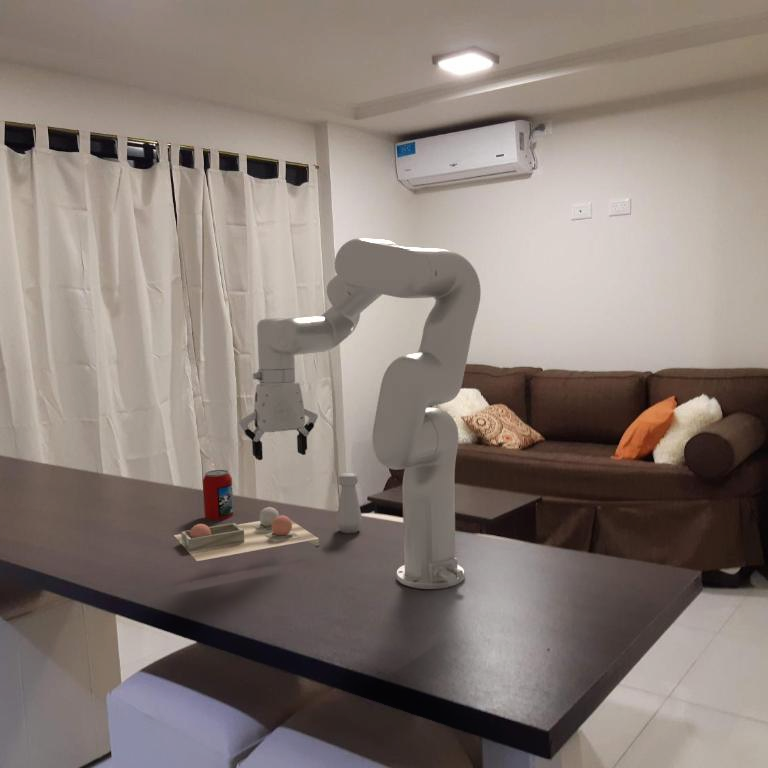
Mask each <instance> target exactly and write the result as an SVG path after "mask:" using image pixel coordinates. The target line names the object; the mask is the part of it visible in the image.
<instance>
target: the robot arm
mask: <svg viewBox="0 0 768 768" xmlns="http://www.w3.org/2000/svg"><path fill="white" fill-rule="evenodd" d="M334 269H335V273H336V275H335V276H334V277H333V278H331V280H329V282H328V283H327V285H326V295H327V298H328V301H329V302H330V304H331V305H332V306H331V307H330V308H329V309H328V310H326V311H325V312H324V313H323V314H321V315H319V316H317V315H316V316H301V317H289V318H282V317H281V318H280V317H279V318H277V317H275V318H274V317H273V318H263V319H260V320H259V321H258V323H257V326H256V329H257V330H256V331H257V332H256V333H257V336H256V337H257V354H258V357H257V358H258V369H257V372H253V373H252V379H253V380H257V381H258V383H257V384H256V386H255V394H254V402H253V404H254V406H253V407H254V408H253V412H251V413H249V414H248V415H247V416H245V417H243V418H242V419H241V420H239V421H238V425H239V427H240V429H241V430H242V431H243V433H244V434H245V435H246V436H247V437H248V438H249V439H250V440H251V441H252V442H251V444H252V455H253V456H254V458H255V459H256V460H258V461H262V460H263V458H264V457H263V442H262V440H261V438H262V437H263V436H264V434H265V433H277V432H285V431H295V430H296V431H297V432H298V434H297V436H296V440H297V441H296V443H297V453H298V454H300V455H302V456H306V455H307V454H306V453H307V452H306V451H307V450H308V436H309V435H310V432H311V431H312V430H313V429H314V428H315V424H316V421H317V419H318V414H317V413H315V412H312V411H311V410H308V409H306V408H305V407H304V400H303V394H302V393H303V392H302V389H301V385H300V382H299V381H296V368H295V367H296V366H295V365H296V364H295V356H296V355H297V356H298V355H307V354H314V353H315V354H316V353H324V352H327V351H331V350H332V349H334V348H335V347H337V346H338V345H340V344H341V343H342V342H343V341H344V340H346V339H347V338H348V337H350V336H351V335H352V333H353V332H354V331H355V330H356V328H357V325H359V324H358V323H359V322H360V318H361V317H360V316H361V313H362V312H363V311H364V310H366V309H367V308H368V307H370V306H371V305H372V304H373V303H374V302H375V301H377V300H378V299H379V298H380V297H381V296H382V295H385V296H390V297H394V298H401V299H426V298H427V299H429V298H433V299H434V300H435V303H434V305H433V307H432V309H431V310H430V312H429V313H428V315H427V317H426V319H425V322H424V325H423V329H422V336H421V341H420V345H419V348H418V350H417V352H416V353H409V354H404V355H401V356H399V357H397V358H395V359H394V360H393V361H391V363H390V364H389V366H388V367H387V369H386V370H385V371H384V374H383V376H382V379H381V384H380V389H379V393H378V401H377V404H376V405H377V406H376V412H375V415H374V416H375V417H374V423H373V429H372V435H371V436H372V437H371V438H372V449H373V452H374V455H375V457H376V459H377V460H378V462H379V463H380V464H381V465H383V467H385V468H387V469H390V470H394V471H395V470H399V471H400V470H404V471H403V478H402V525H403V529H402V530H403V554H404V555H403V556H404V557H403V558H404V559H403V560H404V565H401V566H400V567H399V568H398V569H397V570H396V572H395V574H396V581H398V582H399V583H400V584H402V585H404V586H407V587H409V588H412V589H419V590H420V589H421V590H439V589H440V590H441V589H447V588H450V587H454V586H456V585H459V584H460V583H462V582H463V581H464V580H465V573H466V572H465V569H464V568H463V567H462V566H460V565H459V564H458V558H457V557H456V556H457V555H456V554H457V552H456V551H457V550H456V549H457V548H456V513H455V512H456V508H455V506H456V505H455V504H456V503H455V495H456V494H455V489H456V488H455V487H456V486H455V477H456V476H455V473H456V472H455V470H456V461H457V459H456V458H457V454H458V448H459V429H458V424H457V423H456V421H455V419H454V417H453V416H452V415H451V414H450V413H449V412H447V411H446V410H444V409H442V408H437V407H434V406H439V405H442V404H446V403H449V402H451V401H453V400H455V398H456V397H458V395H459V394H460V391H461V389H462V385H463V380H464V377H465V376H464V375H465V370H466V366H467V360H468V357H469V356H468V355H469V352H470V347H471V339H472V334H473V330H474V326H475V322H476V318H477V315H478V311H479V306H480V303H481V295H482V294H481V293H482V292H481V291H482V290H481V283H480V278H479V276H478V273H477V272H476V269H475V268H474V266H473V265H472V263H471V262H470V261H469V260H468V259H467V258H466V257H464V256H463V255H461V254H460V253H457V252H455V251H453V250H447V249H443V248H429V247H428V248H427V247H426V248H422V247H405V246H400V245H398V244H397V243H395V242H393V241H391V240H385V239H376V238H374V239H373V238H362V237H361V238H353V239H350V240H348V241H347V242H345V243H344V244H342V246H341V247H340V248H339V249H338V251H337V252H336V255H335V259H334ZM306 417H308V421H307V422H306ZM252 422H253V423H254V424H253V425H254V428H255V429H254V430H251V429H250V427H249V424H250V423H252Z"/></svg>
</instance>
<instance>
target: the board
mask: <svg viewBox="0 0 768 768" xmlns="http://www.w3.org/2000/svg"><path fill="white" fill-rule="evenodd" d="M291 522H292V529H291V531H290V532H289V533H288V534H287V535H284V536H278V535H276V534H275V533H274V532H273V531H272V527H271V526H270V527H266V526H264V525H263V524H262V523H261V522H260V520H258V521H251V522H246V523H240V524H237V523H236V522H230V523H225V524H219V525H214V526H208V527H209V529H210V531H211V535H209V536H203V537H197V538H190V531H191V529H189V530H183V531H181V532H180V533H179V534H174V535H173V536H174V537H175V538H176V540H177V541H178V542H179V544H181V545H182V546H183V548H184V549H185V550H186V551H187V552H188V553H189V554H190V555H191V557H192V558H193V559H194V560H195V561H196V562H200V561H201V562H202V561H207V560H210V559H211V560H212V559H216V558H217V559H219V558H224V557H229V556H234V555H238V554H239V555H240V554H245V553H249V552H255V551H261V550H265V549H266V550H267V549H271V548H277V547H283V546H286V545H292V544H299V543H303V542H309V544H311V545H312V546H314V547H318V546H320V538H319V537H317V536H315V535H314V534H313V533H311V532H310V531H308V530H307V529H304V528H303V527H302V526H301V525H299V524H298V523H296V522H294V521H293V520H291Z"/></svg>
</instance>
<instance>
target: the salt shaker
mask: <svg viewBox="0 0 768 768" xmlns="http://www.w3.org/2000/svg"><path fill="white" fill-rule="evenodd" d="M337 478H338V479H337V480H338V485H339V486H341V488H340V489H341V490H340V495H339V501H338V507H337V513H336V520H335V521H336V524H337V526H338V528H339V531H340V532H341V533H344V534H354V533H357V532H358V531H360V528H361V525H362V523H363V516H362V512H361V506H360V502H359V498H358V492H357V488H356V487H357V486H356V485H357V484H358V481H359V480H358V475H357V474H356V473H352V472H344V473H341V474H340V475H338V477H337Z"/></svg>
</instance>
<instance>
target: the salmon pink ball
mask: <svg viewBox="0 0 768 768" xmlns="http://www.w3.org/2000/svg"><path fill="white" fill-rule="evenodd" d="M291 521H292V519H290V517H288V516H286V515H282V514H281V515H279V516H277V517H276V518H275V519H274V520H273V522H272V525H271V527H272V531H273V532H274V533H275V534H276V535H278V536H284V535H287V534H288V533H289V532H290V531H291V529H292V522H291Z"/></svg>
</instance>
